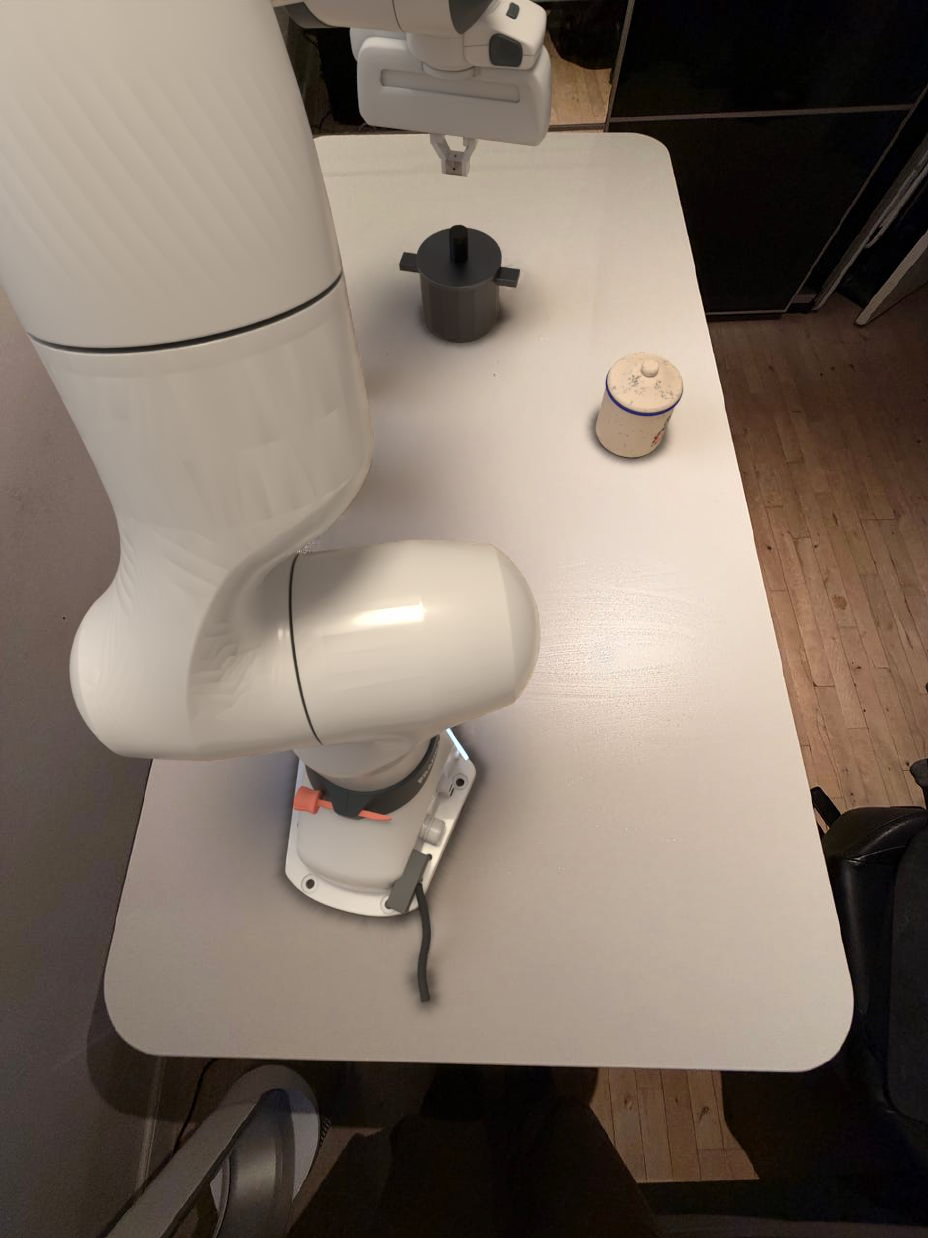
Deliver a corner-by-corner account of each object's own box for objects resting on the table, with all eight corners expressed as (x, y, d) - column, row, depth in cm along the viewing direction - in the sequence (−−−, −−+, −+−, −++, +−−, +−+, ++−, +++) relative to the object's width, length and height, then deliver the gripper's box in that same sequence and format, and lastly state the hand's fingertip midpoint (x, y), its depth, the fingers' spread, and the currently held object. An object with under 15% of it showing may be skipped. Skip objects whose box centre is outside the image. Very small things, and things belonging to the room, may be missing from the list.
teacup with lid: (662, 463, 81) (691, 399, 70) (591, 456, 82) (608, 391, 71) (664, 390, 85) (691, 319, 75) (596, 383, 86) (614, 312, 75)
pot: (507, 351, 89) (510, 299, 81) (397, 333, 90) (389, 280, 82) (522, 296, 92) (526, 242, 85) (416, 280, 94) (410, 225, 86)
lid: (491, 301, 81) (492, 268, 77) (407, 288, 83) (403, 255, 78) (509, 241, 86) (510, 207, 81) (428, 229, 87) (426, 195, 82)
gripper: (336, 26, 60) (360, 177, 72) (551, 50, 58) (537, 202, 70) (356, -10, 62) (376, 143, 75) (563, 12, 60) (547, 166, 73)
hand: (455, 172), depth 73 cm, fingers closed
